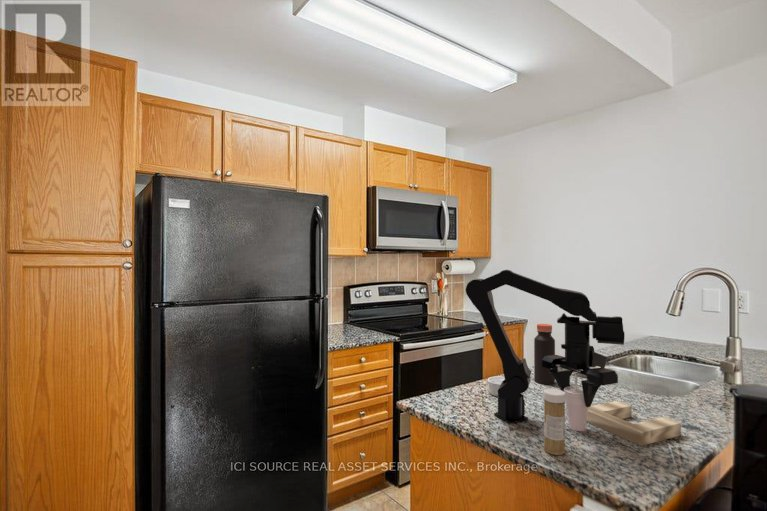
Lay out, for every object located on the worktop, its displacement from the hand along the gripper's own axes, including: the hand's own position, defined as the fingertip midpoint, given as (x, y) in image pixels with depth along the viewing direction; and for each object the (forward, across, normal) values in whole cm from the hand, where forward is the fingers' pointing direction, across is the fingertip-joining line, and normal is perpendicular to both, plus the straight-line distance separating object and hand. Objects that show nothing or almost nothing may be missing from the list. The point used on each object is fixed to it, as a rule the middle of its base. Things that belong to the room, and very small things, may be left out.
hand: (577, 402), depth 103 cm
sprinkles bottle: (+7, -7, +15) cm, 18 cm away
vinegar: (+7, +33, -22) cm, 40 cm away
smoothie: (+7, 0, 0) cm, 7 cm away
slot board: (+6, -4, -13) cm, 15 cm away
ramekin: (+7, +29, 0) cm, 30 cm away
